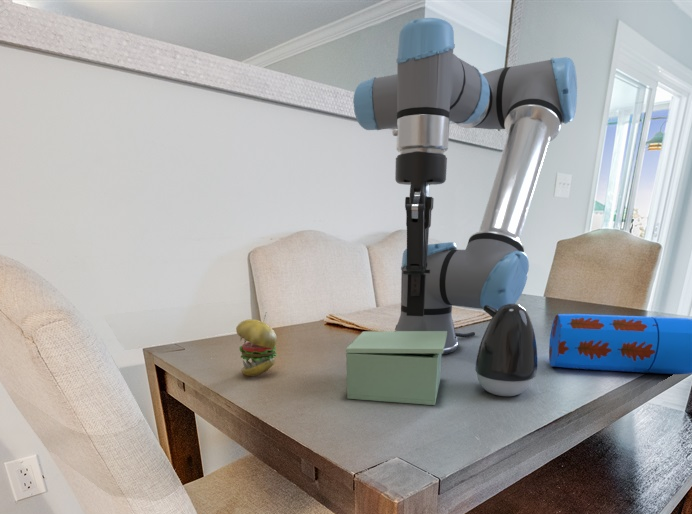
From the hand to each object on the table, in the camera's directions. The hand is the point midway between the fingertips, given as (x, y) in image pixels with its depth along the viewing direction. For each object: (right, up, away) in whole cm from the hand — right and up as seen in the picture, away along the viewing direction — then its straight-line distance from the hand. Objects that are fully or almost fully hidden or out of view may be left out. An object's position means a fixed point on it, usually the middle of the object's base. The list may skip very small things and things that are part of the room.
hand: (415, 315), depth 76 cm
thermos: (+29, -2, +17) cm, 34 cm away
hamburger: (-29, -9, +13) cm, 33 cm away
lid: (-3, -4, +2) cm, 6 cm away
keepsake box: (-3, -12, +5) cm, 14 cm away
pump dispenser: (+16, -13, +5) cm, 21 cm away
